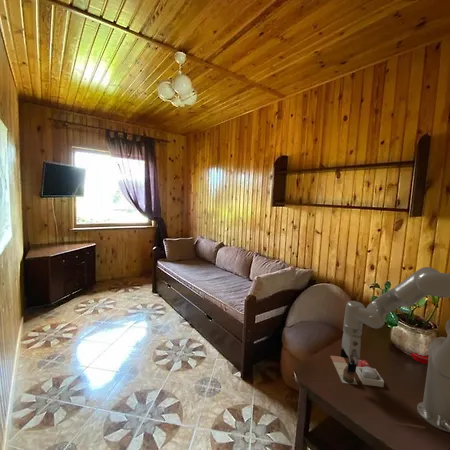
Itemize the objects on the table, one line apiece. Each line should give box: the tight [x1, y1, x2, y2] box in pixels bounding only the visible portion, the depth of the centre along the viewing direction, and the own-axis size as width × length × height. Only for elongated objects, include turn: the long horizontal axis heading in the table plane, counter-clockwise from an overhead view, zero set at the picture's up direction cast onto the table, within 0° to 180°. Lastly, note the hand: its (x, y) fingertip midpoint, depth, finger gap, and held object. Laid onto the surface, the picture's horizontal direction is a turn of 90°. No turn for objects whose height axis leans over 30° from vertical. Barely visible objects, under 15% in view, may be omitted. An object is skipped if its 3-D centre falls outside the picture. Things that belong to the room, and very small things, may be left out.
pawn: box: [342, 366, 355, 384], centre depth 114 cm, size 4×4×7 cm
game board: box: [330, 355, 359, 386], centre depth 122 cm, size 20×7×1 cm, turn 172°
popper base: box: [355, 359, 385, 388], centre depth 118 cm, size 15×9×4 cm, turn 172°
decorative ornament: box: [411, 353, 429, 366], centre depth 133 cm, size 10×10×3 cm
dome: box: [362, 366, 378, 380], centre depth 115 cm, size 6×6×4 cm
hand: (347, 364), depth 114 cm, fingers open, 9 cm apart
